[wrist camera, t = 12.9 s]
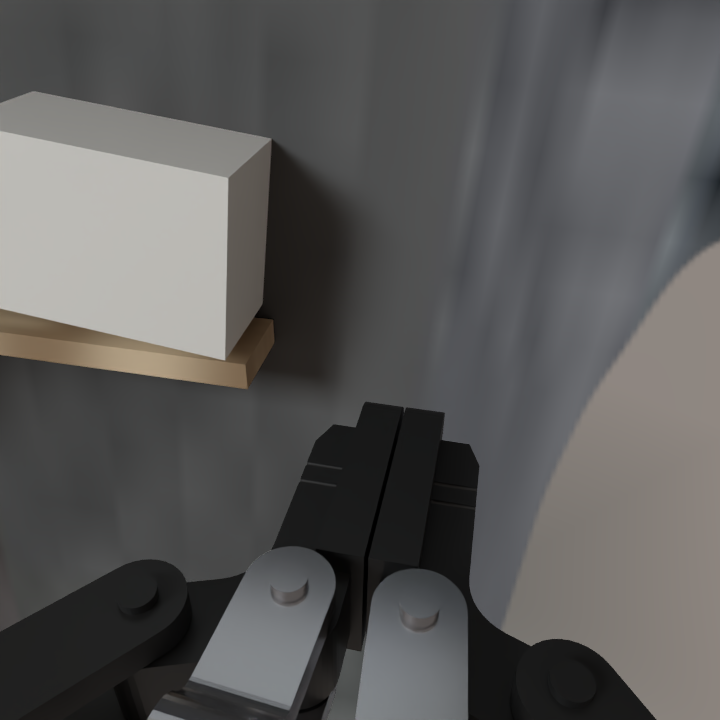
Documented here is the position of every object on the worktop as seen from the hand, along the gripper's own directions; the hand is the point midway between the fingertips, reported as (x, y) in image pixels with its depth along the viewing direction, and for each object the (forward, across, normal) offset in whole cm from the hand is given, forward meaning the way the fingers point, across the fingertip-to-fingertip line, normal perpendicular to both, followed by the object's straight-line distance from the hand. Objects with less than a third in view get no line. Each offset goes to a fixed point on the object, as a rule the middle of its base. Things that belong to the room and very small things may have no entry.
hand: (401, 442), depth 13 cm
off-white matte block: (+11, +10, 0) cm, 15 cm away
